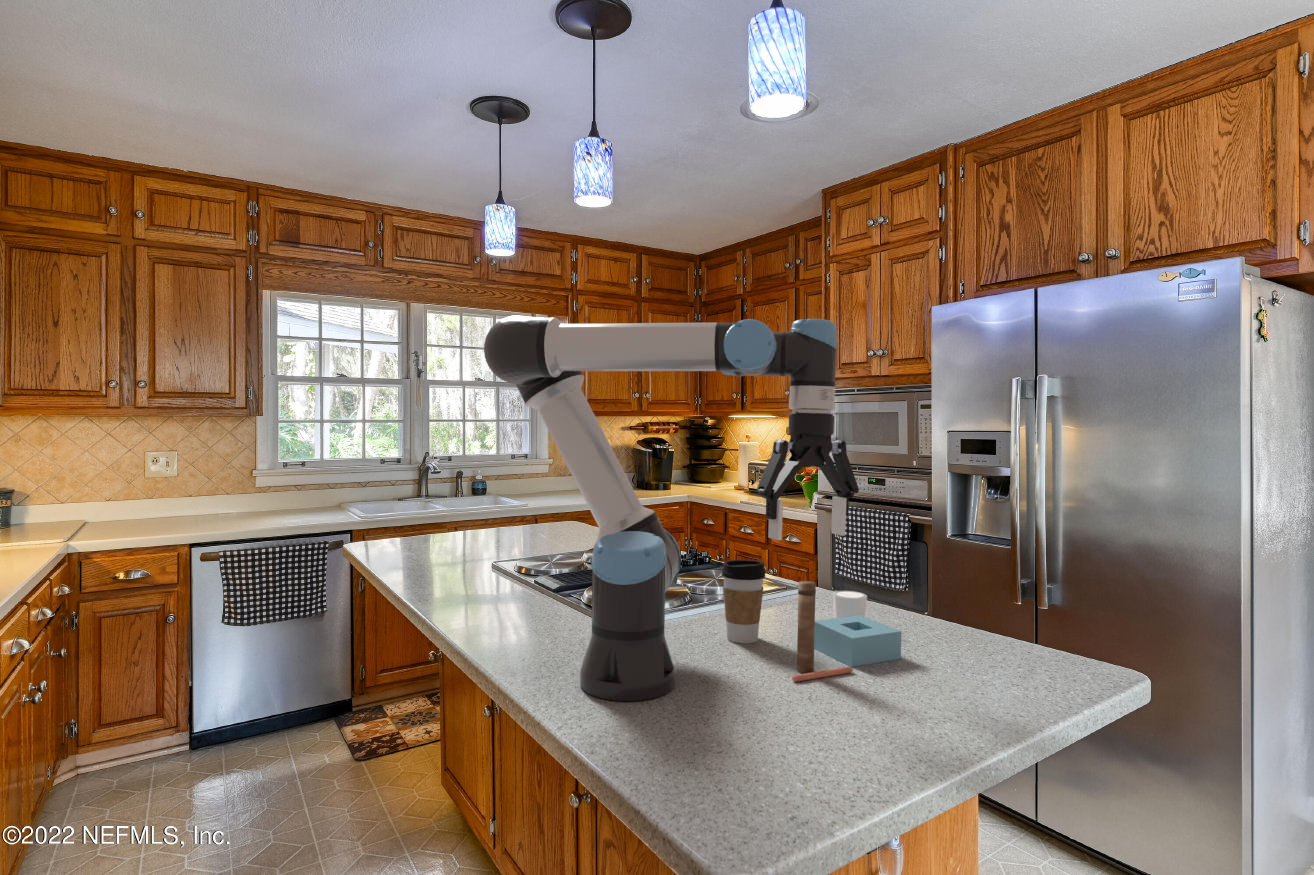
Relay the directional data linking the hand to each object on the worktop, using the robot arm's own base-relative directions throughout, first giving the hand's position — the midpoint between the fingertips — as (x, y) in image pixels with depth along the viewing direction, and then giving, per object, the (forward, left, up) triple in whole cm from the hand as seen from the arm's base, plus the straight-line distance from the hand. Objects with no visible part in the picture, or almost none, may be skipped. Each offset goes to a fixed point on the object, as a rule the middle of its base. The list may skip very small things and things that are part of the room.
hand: (807, 536), depth 122 cm
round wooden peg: (-1, -1, -23) cm, 23 cm away
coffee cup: (-2, +18, -23) cm, 29 cm away
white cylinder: (+22, +16, -23) cm, 35 cm away
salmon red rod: (0, -5, -23) cm, 23 cm away
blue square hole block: (+13, +3, -23) cm, 26 cm away
